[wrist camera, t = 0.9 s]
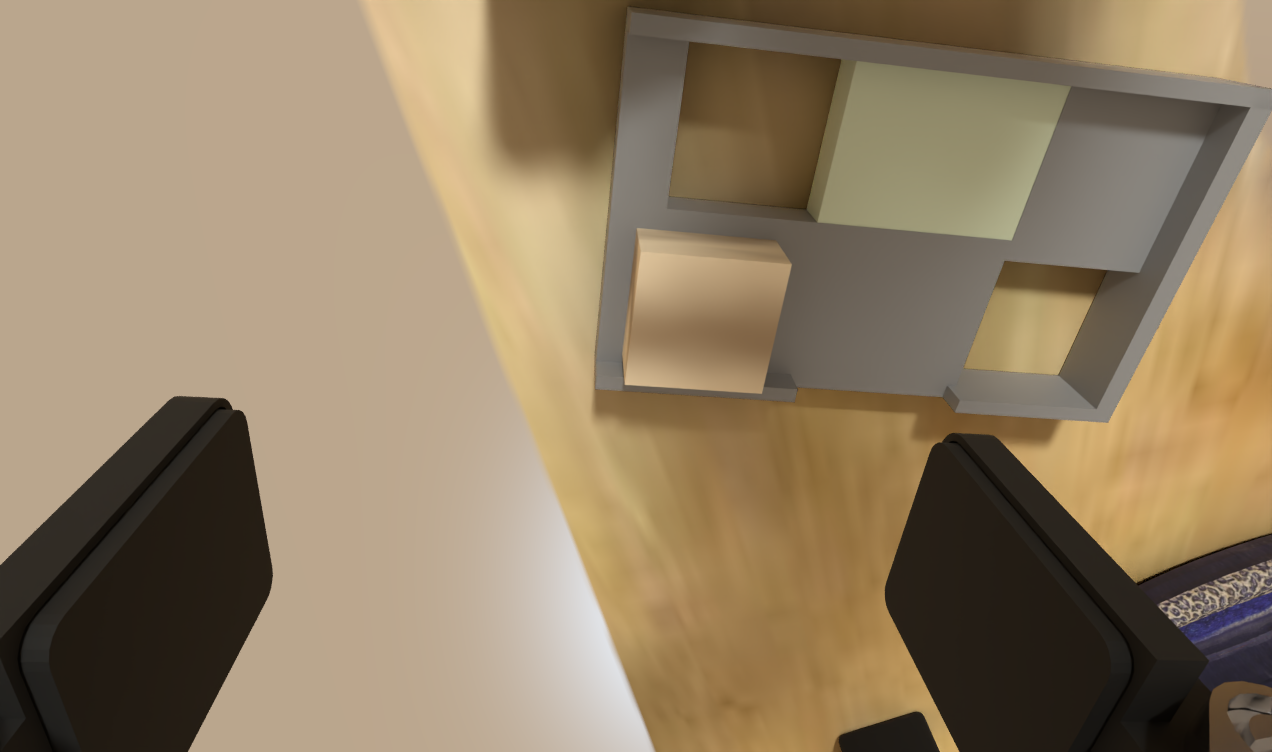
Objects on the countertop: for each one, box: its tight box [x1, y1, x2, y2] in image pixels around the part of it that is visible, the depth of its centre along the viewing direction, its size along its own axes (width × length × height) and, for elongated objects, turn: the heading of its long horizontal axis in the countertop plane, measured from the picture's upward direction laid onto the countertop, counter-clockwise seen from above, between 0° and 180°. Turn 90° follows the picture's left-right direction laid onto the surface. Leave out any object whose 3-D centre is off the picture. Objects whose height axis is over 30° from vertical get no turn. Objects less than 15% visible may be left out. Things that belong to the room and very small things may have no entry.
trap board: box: [595, 6, 1272, 423], centre depth 34 cm, size 16×27×4 cm, turn 84°
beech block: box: [622, 228, 792, 394], centre depth 33 cm, size 6×6×3 cm
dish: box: [1139, 535, 1272, 692], centre depth 49 cm, size 16×31×5 cm, turn 117°
